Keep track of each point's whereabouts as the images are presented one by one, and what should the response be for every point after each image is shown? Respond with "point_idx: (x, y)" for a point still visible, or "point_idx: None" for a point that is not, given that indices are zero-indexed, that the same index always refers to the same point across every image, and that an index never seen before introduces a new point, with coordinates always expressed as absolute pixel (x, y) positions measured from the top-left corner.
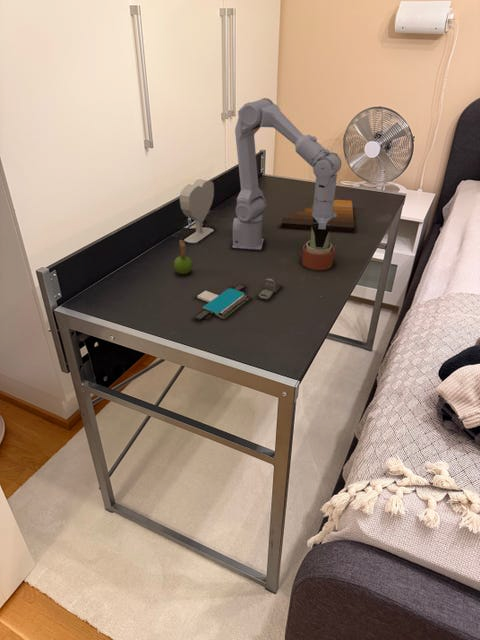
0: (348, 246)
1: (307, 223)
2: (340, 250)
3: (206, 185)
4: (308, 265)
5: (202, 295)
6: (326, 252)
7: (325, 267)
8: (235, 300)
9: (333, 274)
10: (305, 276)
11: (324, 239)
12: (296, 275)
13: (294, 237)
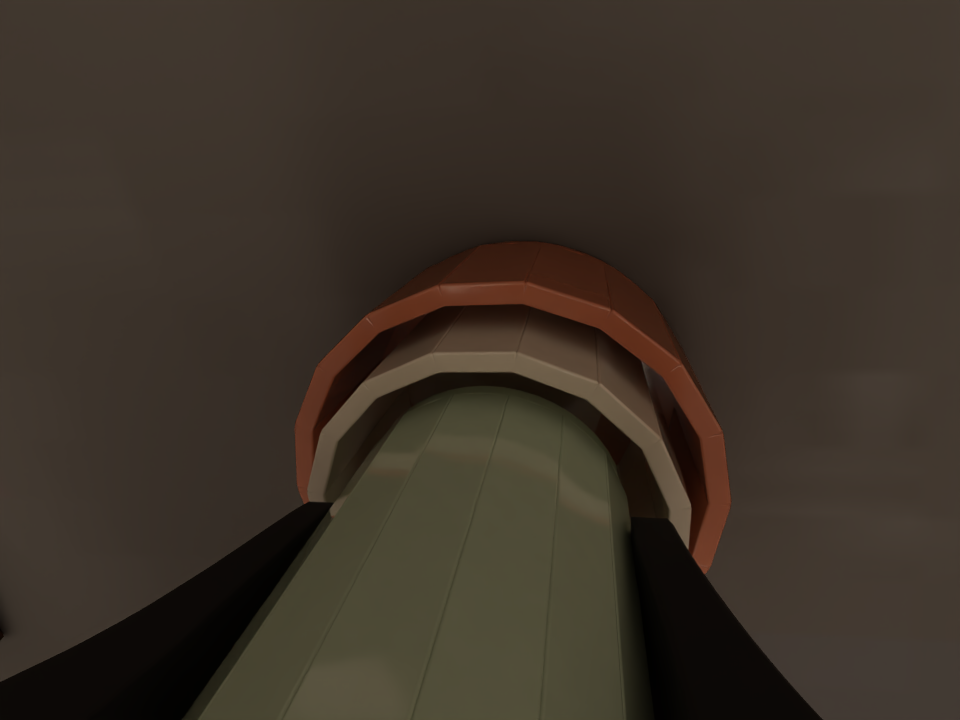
0: (37, 72)
1: None
2: (168, 164)
3: None
4: None
5: None
6: (647, 407)
7: (668, 326)
8: None
9: (781, 224)
10: (838, 503)
11: (741, 647)
12: (817, 573)
13: (105, 563)
